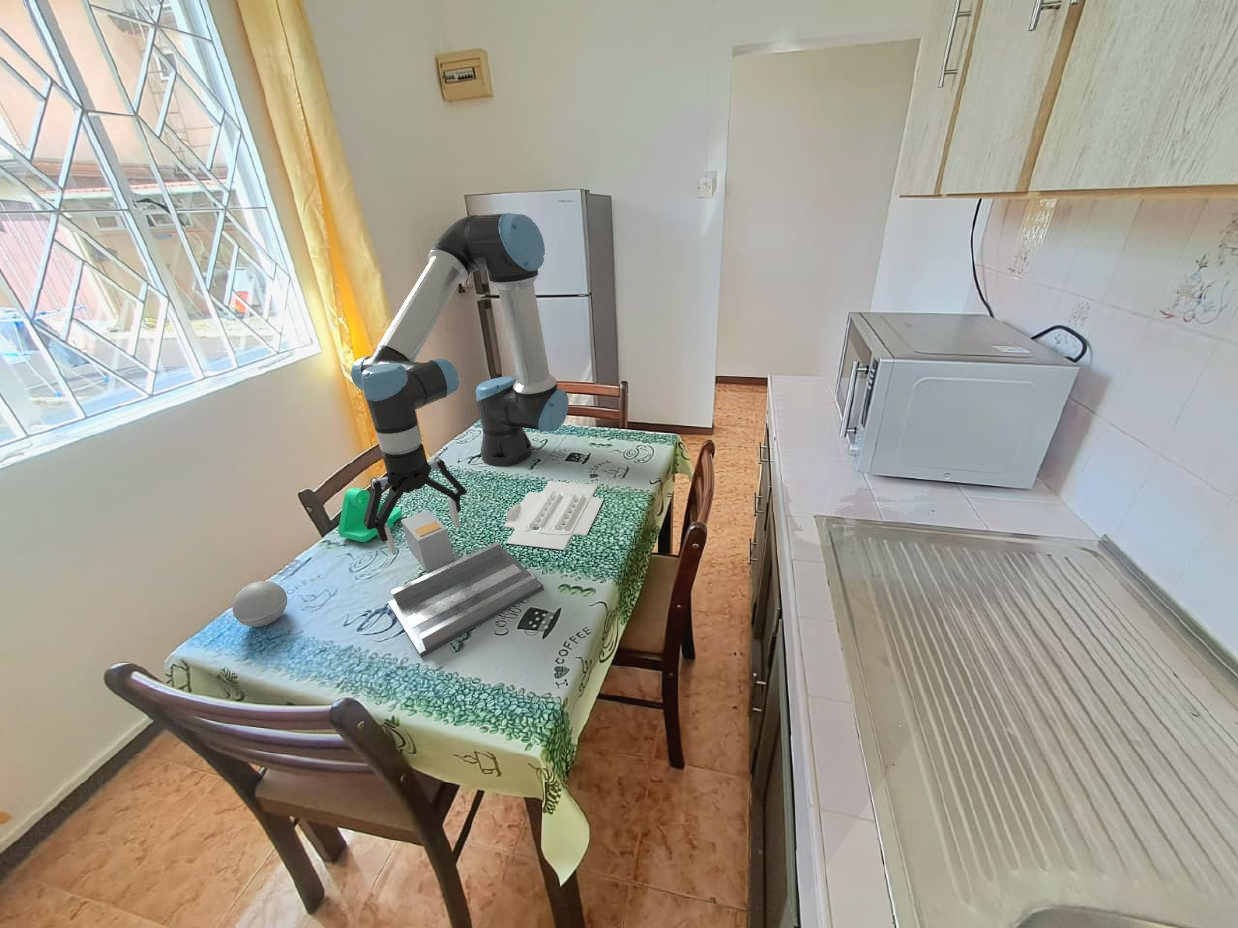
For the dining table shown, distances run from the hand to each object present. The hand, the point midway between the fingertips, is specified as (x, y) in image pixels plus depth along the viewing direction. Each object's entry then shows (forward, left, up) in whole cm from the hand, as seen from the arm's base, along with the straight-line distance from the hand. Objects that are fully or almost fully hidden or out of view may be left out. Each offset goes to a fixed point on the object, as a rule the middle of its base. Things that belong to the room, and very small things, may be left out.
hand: (425, 538), depth 103 cm
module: (0, 0, -5) cm, 5 cm away
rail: (0, +18, -5) cm, 18 cm away
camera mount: (+6, -20, -5) cm, 21 cm away
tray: (-29, +5, -6) cm, 30 cm away
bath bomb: (+30, -2, -5) cm, 30 cm away
